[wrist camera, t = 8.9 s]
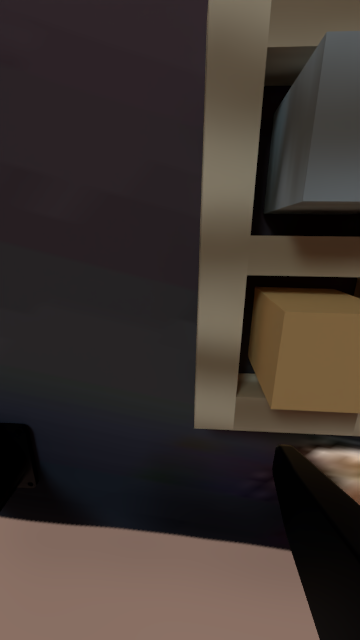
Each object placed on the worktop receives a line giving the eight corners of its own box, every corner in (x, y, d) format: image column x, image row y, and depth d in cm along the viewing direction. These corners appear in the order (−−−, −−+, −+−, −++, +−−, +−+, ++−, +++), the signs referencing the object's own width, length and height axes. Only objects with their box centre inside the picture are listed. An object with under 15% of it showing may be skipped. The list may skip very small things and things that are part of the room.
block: (319, 358, 18) (375, 414, 13) (247, 356, 19) (271, 408, 13) (333, 288, 17) (404, 315, 11) (255, 286, 17) (284, 311, 11)
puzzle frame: (363, 408, 19) (435, 480, 14) (194, 400, 20) (194, 466, 14) (468, 19, 13) (697, -163, 7) (207, 25, 13) (215, -136, 7)
